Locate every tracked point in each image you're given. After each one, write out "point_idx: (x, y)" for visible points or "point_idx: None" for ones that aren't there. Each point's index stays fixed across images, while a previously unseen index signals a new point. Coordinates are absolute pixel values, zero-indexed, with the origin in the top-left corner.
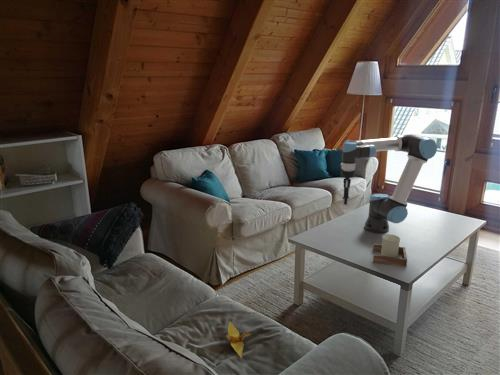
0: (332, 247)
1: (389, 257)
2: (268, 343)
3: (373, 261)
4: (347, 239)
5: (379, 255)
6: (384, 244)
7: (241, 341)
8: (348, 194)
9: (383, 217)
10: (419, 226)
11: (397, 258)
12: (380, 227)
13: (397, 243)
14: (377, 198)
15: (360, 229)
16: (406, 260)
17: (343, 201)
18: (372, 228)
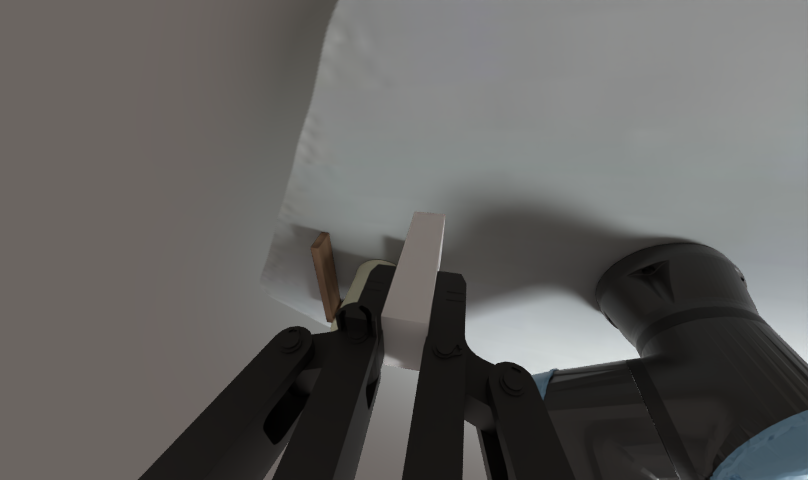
0: (393, 67)
1: (320, 287)
2: None
3: (320, 235)
4: (512, 150)
5: (320, 264)
6: (346, 301)
7: None
8: (486, 430)
9: (592, 366)
10: None
11: (324, 304)
12: (608, 309)
13: None
14: (737, 471)
15: (656, 221)
16: (327, 319)
17: (394, 280)
18: (619, 277)
